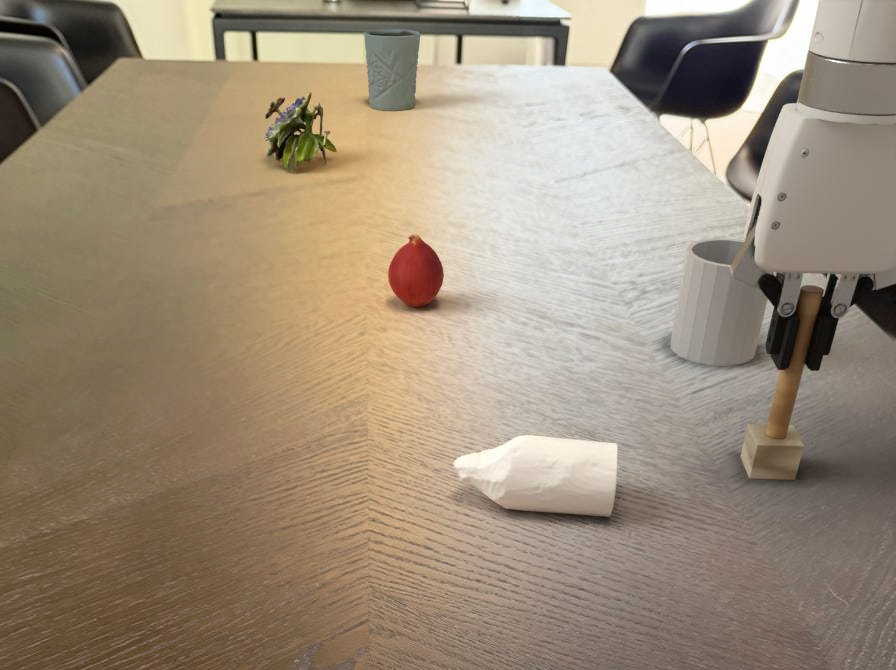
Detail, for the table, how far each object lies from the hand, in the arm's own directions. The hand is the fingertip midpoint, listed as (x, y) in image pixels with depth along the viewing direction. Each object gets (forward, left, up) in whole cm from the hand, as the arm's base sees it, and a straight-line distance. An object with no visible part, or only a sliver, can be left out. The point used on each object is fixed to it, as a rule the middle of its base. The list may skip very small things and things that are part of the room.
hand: (793, 361), depth 75 cm
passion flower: (+51, -94, -10) cm, 107 cm away
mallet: (0, 0, -10) cm, 10 cm away
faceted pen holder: (0, -24, -10) cm, 26 cm away
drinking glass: (+40, -137, -10) cm, 143 cm away
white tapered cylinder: (+19, +6, -10) cm, 22 cm away
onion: (+30, -34, -10) cm, 46 cm away
